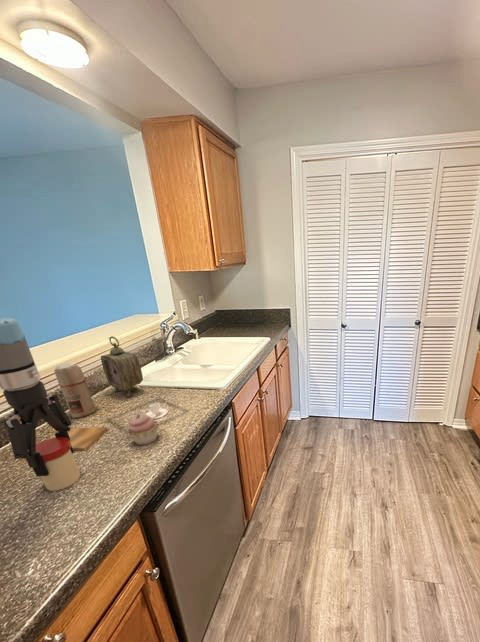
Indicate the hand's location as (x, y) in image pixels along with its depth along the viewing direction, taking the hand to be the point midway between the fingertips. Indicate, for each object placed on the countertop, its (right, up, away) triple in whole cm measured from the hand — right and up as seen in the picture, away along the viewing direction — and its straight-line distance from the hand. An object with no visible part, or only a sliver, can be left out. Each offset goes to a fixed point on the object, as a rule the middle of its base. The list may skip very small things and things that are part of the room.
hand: (56, 463), depth 85 cm
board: (-10, +2, +21) cm, 24 cm away
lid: (0, +5, -2) cm, 5 cm away
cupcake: (+15, +3, +19) cm, 24 cm away
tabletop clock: (-10, +17, +56) cm, 59 cm away
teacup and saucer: (+8, +9, +34) cm, 36 cm away
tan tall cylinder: (-19, +9, +39) cm, 44 cm away
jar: (0, -5, +2) cm, 6 cm away
